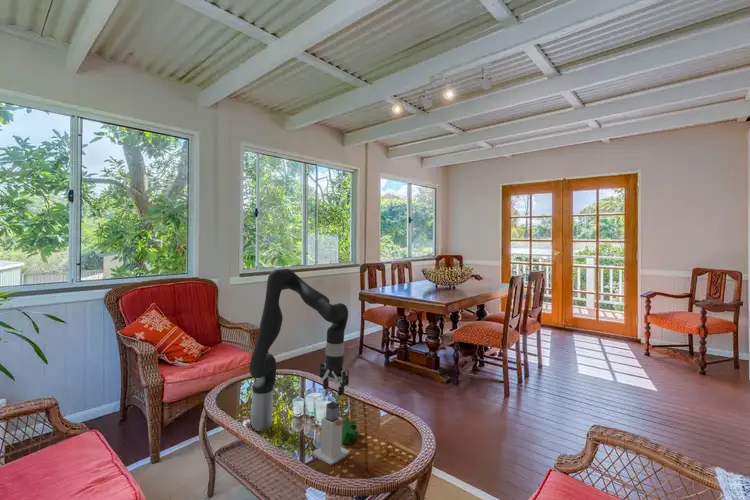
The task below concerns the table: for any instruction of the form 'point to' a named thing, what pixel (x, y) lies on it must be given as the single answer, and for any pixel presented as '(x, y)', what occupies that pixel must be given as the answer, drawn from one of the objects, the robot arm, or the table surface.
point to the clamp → (349, 431)
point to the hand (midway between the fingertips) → (333, 391)
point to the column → (332, 411)
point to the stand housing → (331, 442)
